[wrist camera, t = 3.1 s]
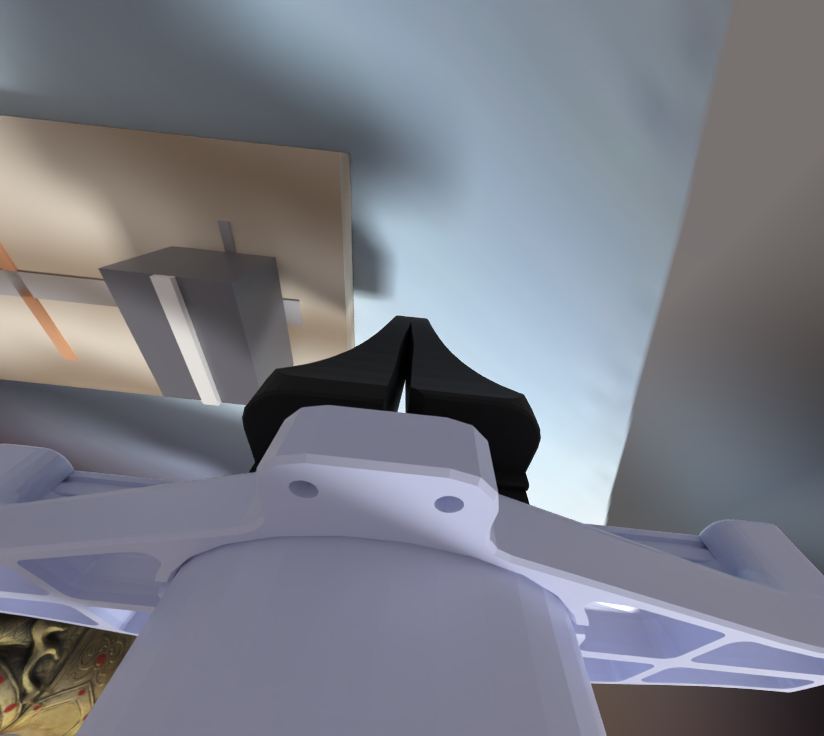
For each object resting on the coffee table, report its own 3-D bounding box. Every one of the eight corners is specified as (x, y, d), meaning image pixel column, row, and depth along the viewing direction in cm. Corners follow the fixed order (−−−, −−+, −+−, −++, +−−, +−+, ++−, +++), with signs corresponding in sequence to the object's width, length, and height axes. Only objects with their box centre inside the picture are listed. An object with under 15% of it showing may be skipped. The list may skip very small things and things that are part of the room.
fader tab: (293, 364, 14) (261, 410, 11) (210, 356, 14) (159, 399, 11) (275, 257, 11) (227, 284, 9) (171, 246, 11) (91, 270, 9)
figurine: (99, 459, 23) (-806, 1253, 6) (281, 587, 36) (149, 957, 19) (-2, 485, 26) (-792, 1065, 9) (200, 594, 39) (24, 919, 22)
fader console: (355, 398, 18) (349, 417, 16) (-25, 358, 18) (-62, 373, 16) (349, 153, 11) (338, 151, 10) (-270, 86, 11) (-367, 75, 10)
